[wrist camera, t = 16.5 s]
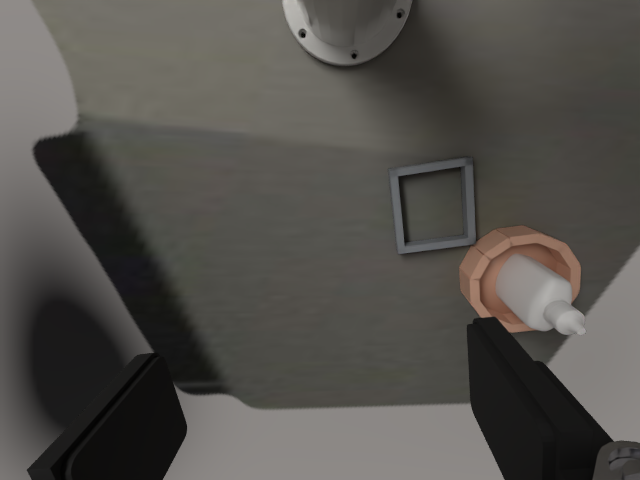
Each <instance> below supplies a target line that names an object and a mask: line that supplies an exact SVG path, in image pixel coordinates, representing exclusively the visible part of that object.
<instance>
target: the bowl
mask: <svg viewBox="0 0 640 480" xmlns="http://www.w3.org/2000/svg"><path fill="white" fill-rule="evenodd" d="M513 254H523V255H526V256H530V257H532V258H533V259H535V260H536V261H538V262H540V263H541V264H543V265H544V266H546V267H548V268H549V269H551V270H552V271H554V272H555V273H557V274H559V275H560V276H562V277H563V278H565V279H566V280H567V281H569V282H570V284H571V287H572V302H573V301H574V300H575V298H576V297H577V295H578V294H579V292H578V291H580V277H581V266H580V263H579V262H578V260H577V259H576V257H575V256H574V254H573V253H572V251H571V250H570V248H569V247H568V245H567V244H566V243H564V242H562V241H559V240H557V239H555V238H553V237H551V236H549V235H547V234H544V233H542V232H539V231H537V230H534V229H532V228H529V227H526V226H524V225H520V226H512V227H505V228H497V229H496V230H495V229H494V230H492V231H491V232H489V233H488V234H487V235H485V236H484V237H482V238H481V239H479V240H478V241H476V244H473V246H472V245H471V247H470V248H469V250H468V252H467V254H466V256H465V258H464V259H463V261H462V263H461V265H460V268H459V273H460V290H461V292H462V293H463V295H464V296H465V297H466V298H467V300H468V301H469V302H470V304H471V305H472V306H473V308H474V309H475V310H476V312H477V313H478V314H479V315H480V317H481V318H485V317H496V318H497V319H498V320H499V321H500V322H501V323H502V325H503V326H504V327H505V328H506V329H507V330H508V332H511V333H512V332H522V331H532V330H536V329H533V328H530V327H528V326H527V325H526V324H525V323H524V322H522V321H521V320H520V319H519V318H518V317H517V316H516V315H515V314H514V313H513V312H512V311H511V310H510V309H509V308H508V307H507V306H506V304H505V303H504V302H503V301H502V300H501V299H500V298H499V297H498V296H497V294H496V291H495V286H496V279H497V276H498V273H499V271H500V269H501V267H502V266H503V264H504V263H505V262H506V261H507V259H508V258H509V257H510V256H512V255H513ZM572 302H571V304H572Z"/></svg>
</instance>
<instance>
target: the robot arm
mask: <svg viewBox="0 0 640 480" xmlns="http://www.w3.org/2000/svg"><path fill="white" fill-rule="evenodd" d="M411 4H412V0H282V6H283V10H284V14H285V18H286V21H287V23H288V26H289V28H290V30H291V32H292V34H293V35H294V37H295V39H296V40H297V41H298V43H299V44H300V45H301V46H302V48H303V49H304V50H306V51H307V52H308V53H309V54H310V55H312V56H313V57H315V58H316V59H318V60H320V61H322V62H324V63H328V64H331V65H335V66H352V65H359V64H362V63H364V62H367V61H370V60H371V59H373V58H375V57H376V56H378V55H380V54H381V53H382V52H383V51H385V50H386V49H387V48H388V47H389V46H390V45H391V44H392V42H393V41H394V40H395V39H396V37H397V36H398V35H399V33H400V31H401V30H402V28H403V26H404V24H405V22H406V20H407V18H408V15H409V12H410V8H411ZM397 14H400V15H401V18H400V19H398V18H397ZM303 33H304V34H306V37H305V38H302V37H301V35H302V34H303ZM353 54H355V55H356V56H357V57H356V59H353V58H352V55H353ZM467 342H468V362H469V382H470V401H471V407H472V410H473V413H474V416H475V418H476V420H477V422H478V424H479V426H480V428H481V431H482V432H483V435H484V437H485V439H486V441H487V443H488V445H489V448H490V449H491V451H492V454H493V456H494V458H495V460H496V462H497V464H498V466H499V468H500V471H501V473H502V475H503V477H504V479H505V480H640V443H638V442H631V441H616V442H614V441H613V440H612V439H611V438H610V436H609V435H608V434H607V433H606V432H605V431H604V430H603V429H602V427H601V426H600V425H599V424H598V423H597V422H596V421H595V420H594V419H593V417H592V416H591V415H590V414H589V413H588V412H587V411H586V410H585V409H584V407H583V406H582V405H581V404H580V403H579V402H578V401H577V400H576V398H575V397H574V396H573V395H572V394H571V393H570V392H569V391H568V389H567V388H566V387H565V386H564V385H563V384H562V383H561V382H560V381H559V379H558V378H557V377H556V376H555V375H554V374H553V373H552V372H551V371H550V369H549V368H548V367H547V366H546V365H545V364H544V363H543V362H540V361H533V360H532V358H531V357H530V356H529V355H528V354H527V353H526V351H525V350H524V349H523V348H522V347H521V346H520V344H519V343H518V342H517V341H516V340H515V339H514V337H513V336H512V335H511V334H510V333H509V332H508V330H507V329H506V328H505V327H504V326H503V325H502V323H501V322H500V321H499V320H498V319H497V318H496V317H485V318H475V319H474V320H473V324H468V325H467ZM186 433H187V424H186V421H185V417H184V414H183V411H182V408H181V405H180V402H179V399H178V396H177V394H176V390H175V387H174V384H173V381H172V378H171V375H170V372H169V369H168V366H167V363H166V360H165V359H164V358H163V357H161V356H160V355H159V354H158V353H148V354H140V355H137V356H136V357H134V359H133V360H132V361H131V362H130V363H129V364H128V365H127V366H126V367H125V368H124V369H123V370H122V371H121V372H120V373H119V374H118V375H117V376H116V378H114V379H113V381H112V382H111V383H110V384H109V385H108V386H107V387H106V388H105V389H104V390H103V391H102V392H101V393H100V394H99V395H98V396H97V397H96V398H95V399H94V400H93V401H92V402H91V403H90V405H89V406H88V407H87V408H86V409H85V410H84V411H83V412H82V413H81V414H80V415H79V416H78V417H77V418H76V419H75V420H74V421H73V422H72V423H71V424H70V425H69V426H68V427H67V429H66V430H65V431H64V432H63V433H62V434H61V435H60V436H59V437H58V438H57V439H56V440H55V441H54V442H53V443H52V444H51V445H50V446H49V447H48V448H47V450H45V452H44V453H43V454H42V455H41V456H40V457H39V458H38V459H37V460H36V461H35V462H34V463H33V464H32V465H31V466H30V467H29V468H28V469H27V471H28V473H29V475H30V477H31V479H32V480H163V478H164V476H165V475H166V473H167V471H168V469H169V467H170V465H171V463H172V461H173V459H174V458H175V456H176V454H177V452H178V450H179V448H180V446H181V444H182V442H183V441H184V439H185V436H186Z"/></svg>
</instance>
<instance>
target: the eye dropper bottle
mask: <svg viewBox="0 0 640 480" xmlns="http://www.w3.org/2000/svg"><path fill="white" fill-rule="evenodd" d="M495 291H496V294H497V296H498V297H499V298H500V299H501V300H502V301H503V302H504V303H505V304H506V306H507V307H508V308H509V309H510V310H511V311H512V312H513V313H514V314H515V315H516V316H517V317H518V318H519V319H520V320H521V321H522V322H524V323H525V324H526V325H527V326H528V327H530V328H533V329H536V330H540V331H548V330H550V329H552V328H555V329H556V330H557V331H558V332H560V333H561V334H564V335H572V334H575V333H576V334H578V335H584V334H585V333H586V329H585V328H584V325H585V317H584V315H583V314H582V313H581V312H580V311H578V310H577V309H576V308H574V307H573V306H572V305H571V302H572V287H571V284H570V282H569V281H567V280H566V279H565V278H563V277H562V276H560V275H559V274H557V273H555V272H554V271H552V270H551V269H549V268H548V267H546V266H544V265H543V264H541V263H540V262H538V261H536V260H535V259H533V258H532V257H530V256H526V255H523V254H513V255H512V256H510V257H509V258H508V259H507V261H506V262H505V263H504V264H503V266H502V267H501V269H500V271H499V273H498V276H497V279H496V286H495Z"/></svg>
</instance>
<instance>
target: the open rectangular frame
mask: <svg viewBox="0 0 640 480" xmlns="http://www.w3.org/2000/svg"><path fill="white" fill-rule="evenodd" d="M455 167H460V168H461V189H462V209H463V230H464V235H457V236H450V237H442V238H435V239H427V240H420V241H412V242H405V243H404V234H403V224H402V214H401V204H400V194H399V183H398V176H403V175H409V174H416V173H422V172H429V171H435V170H442V169H448V168H455ZM388 176H389V185H390V195H391V204H392V214H393V223H394V232H395V242H396V250H397V252H398V254H404V253H411V252H419V251H427V250H434V249H442V248H450V247H457V246H465V245H473V244H476V232H475V206H474V181H473V157H469V156H466V157H460V158H453V159H447V160H441V161H434V162H428V163H422V164H415V165H409V166H402V167H396V168H390V169H388Z"/></svg>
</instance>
